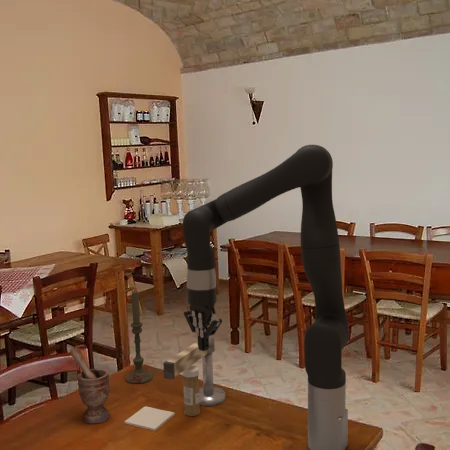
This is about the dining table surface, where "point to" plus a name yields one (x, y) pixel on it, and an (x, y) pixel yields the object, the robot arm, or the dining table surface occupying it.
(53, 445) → the dining table surface
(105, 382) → the mortar and pestle
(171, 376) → the swing arm
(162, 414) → the cream pad
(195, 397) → the sprinkles bottle
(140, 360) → the candlestick holder
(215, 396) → the post
